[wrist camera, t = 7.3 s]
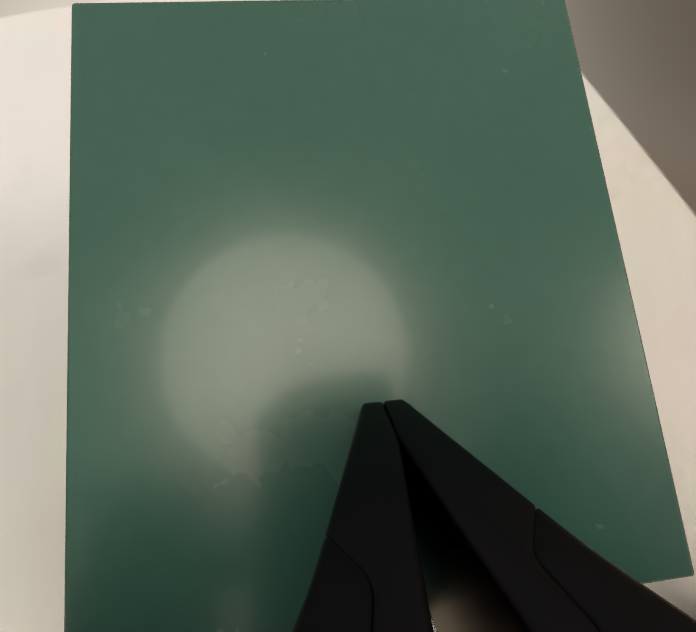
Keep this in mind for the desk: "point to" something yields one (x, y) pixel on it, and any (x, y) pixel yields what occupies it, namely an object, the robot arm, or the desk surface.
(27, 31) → the desk surface
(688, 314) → the desk surface
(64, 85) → the desk surface
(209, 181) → the lid
